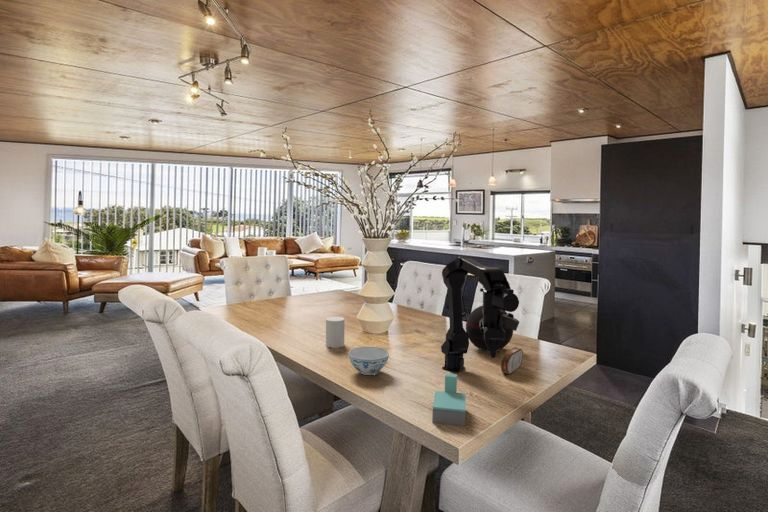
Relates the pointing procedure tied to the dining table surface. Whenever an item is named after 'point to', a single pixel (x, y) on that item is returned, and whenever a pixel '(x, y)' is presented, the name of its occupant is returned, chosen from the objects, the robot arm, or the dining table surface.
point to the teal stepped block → (450, 396)
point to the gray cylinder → (335, 332)
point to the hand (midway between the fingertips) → (491, 354)
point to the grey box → (448, 417)
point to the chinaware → (368, 359)
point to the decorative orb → (476, 333)
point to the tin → (511, 360)
